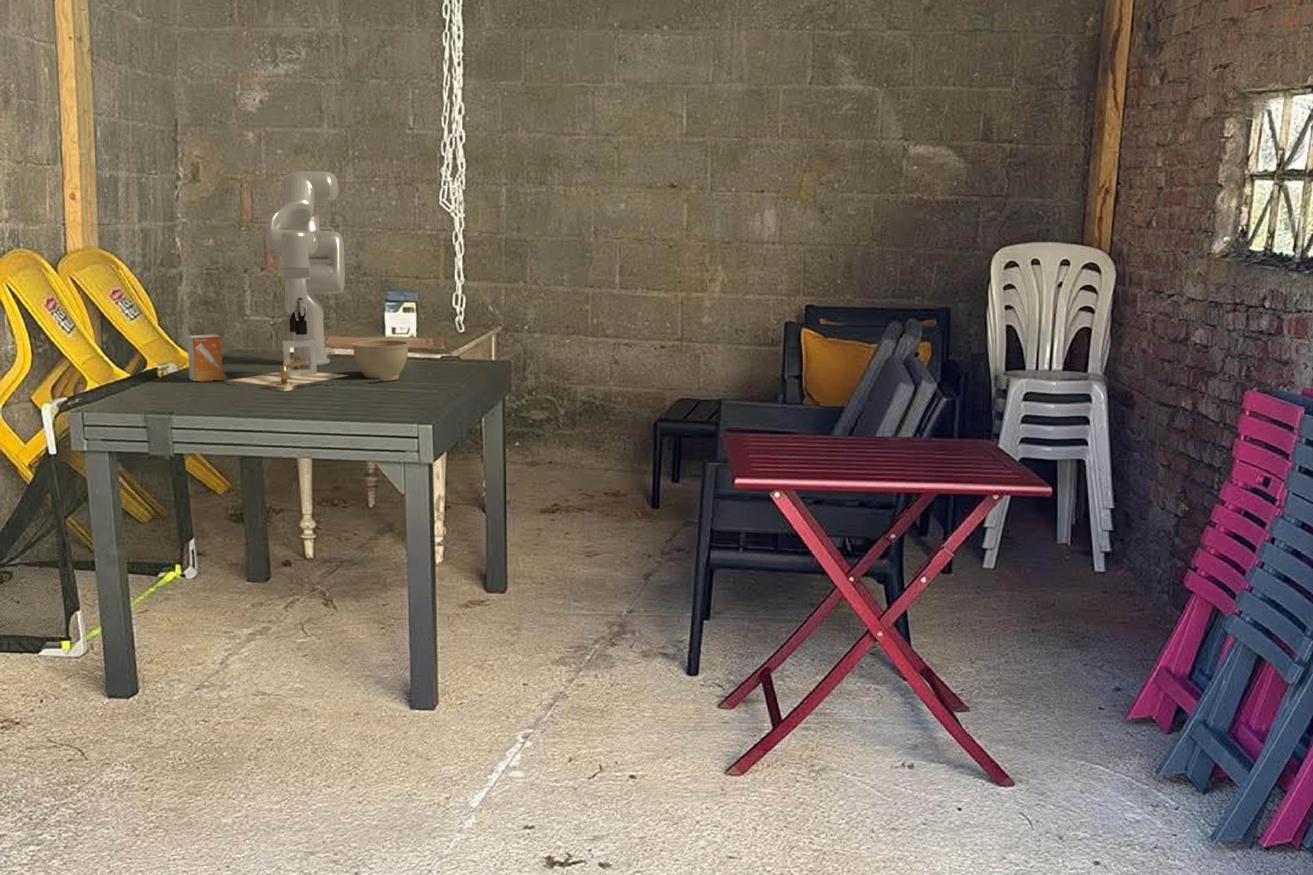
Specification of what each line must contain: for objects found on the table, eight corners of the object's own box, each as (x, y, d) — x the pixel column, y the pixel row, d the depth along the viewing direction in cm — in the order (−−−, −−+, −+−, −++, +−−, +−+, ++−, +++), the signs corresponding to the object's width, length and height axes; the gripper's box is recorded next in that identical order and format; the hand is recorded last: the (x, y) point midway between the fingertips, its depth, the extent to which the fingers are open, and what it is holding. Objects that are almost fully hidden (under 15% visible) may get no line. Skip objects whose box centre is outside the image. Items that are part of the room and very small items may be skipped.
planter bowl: (405, 374, 387) (404, 339, 385) (413, 382, 372) (412, 345, 370) (351, 376, 382) (350, 340, 380) (356, 384, 367) (355, 347, 365)
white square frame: (284, 374, 376) (282, 341, 374) (315, 373, 380) (313, 339, 378) (285, 376, 373) (284, 342, 371) (317, 374, 377) (315, 341, 375)
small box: (194, 382, 368) (192, 337, 366) (189, 379, 373) (186, 335, 371) (223, 380, 373) (221, 335, 370) (217, 377, 378) (215, 333, 375)
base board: (294, 373, 387) (294, 369, 387) (349, 379, 377) (349, 375, 376) (227, 384, 365) (227, 380, 364) (284, 391, 354) (284, 386, 354)
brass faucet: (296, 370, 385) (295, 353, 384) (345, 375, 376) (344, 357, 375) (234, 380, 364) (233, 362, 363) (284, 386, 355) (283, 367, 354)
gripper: (278, 273, 377) (280, 331, 380) (287, 275, 361) (290, 336, 364) (304, 272, 380) (306, 330, 383) (314, 275, 365) (317, 335, 367)
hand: (298, 333), depth 374 cm, fingers open, 9 cm apart
